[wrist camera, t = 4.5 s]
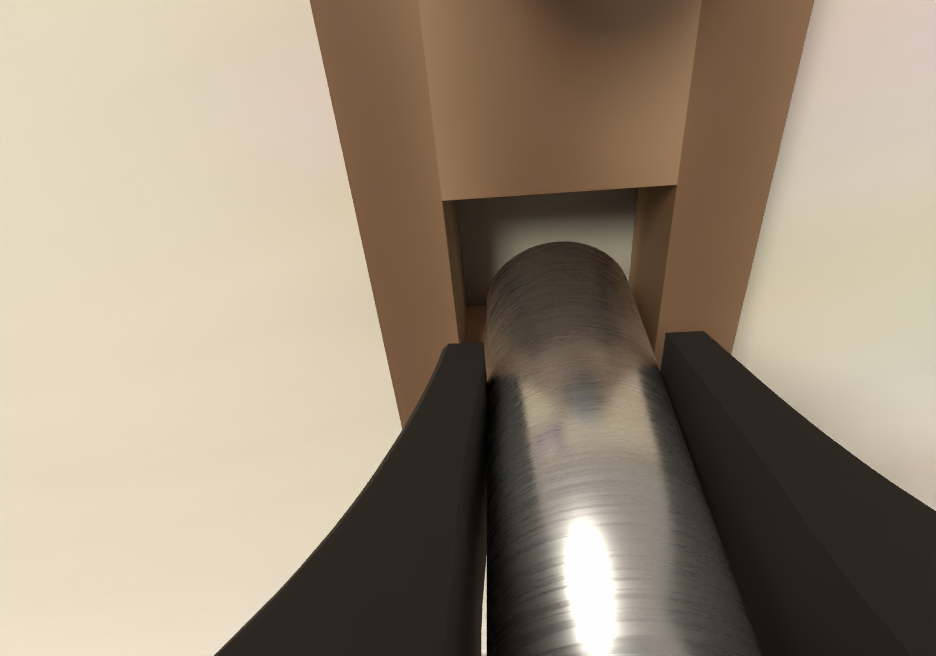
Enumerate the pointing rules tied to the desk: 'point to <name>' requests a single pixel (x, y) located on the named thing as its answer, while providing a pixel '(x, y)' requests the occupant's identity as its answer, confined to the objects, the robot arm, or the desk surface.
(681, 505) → the steel pin
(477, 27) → the walnut hole block
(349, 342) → the desk surface
